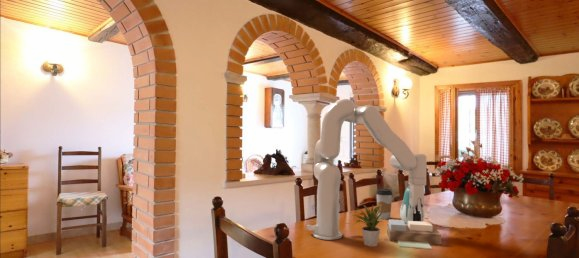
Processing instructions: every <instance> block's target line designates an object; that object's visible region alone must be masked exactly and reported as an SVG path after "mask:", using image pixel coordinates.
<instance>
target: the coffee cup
mask: <svg viewBox="0 0 579 258" xmlns="http://www.w3.org/2000/svg"><path fill="white" fill-rule="evenodd" d="M375 194H376V207H377V206H380V205H382V206H380V208H379V210H380V209H381V210H380V212H379V210H378V212H379V214H380V213H381V212H382V214H381V216H380V217H379V220H389V219H390V218H391V214H392V213H391V212H392V201H393V198H392V197H393V192H392V189H389V188H377V189H376V193H375ZM381 207H382V208H381ZM383 209H384V210H383ZM382 210H383V211H382ZM378 212H377V213H378ZM383 212H384V213H383ZM379 214H378V216H379ZM378 216H377V217H378Z"/></svg>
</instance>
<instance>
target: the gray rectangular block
mask: <svg viewBox="0 0 579 258" xmlns="http://www.w3.org/2000/svg"><path fill="white" fill-rule="evenodd" d="M388 224H389V227H390V229H391V231H406V225H407V224H406V223H404V221H403V220H402V219H388Z"/></svg>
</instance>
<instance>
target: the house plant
mask: <svg viewBox="0 0 579 258" xmlns="http://www.w3.org/2000/svg"><path fill="white" fill-rule="evenodd" d="M362 206H363V207H364V209H365V212H366V213H365V212H364V211H363V210H362V209H360V208H358V207H353V208H355V209H356V210H358V211H360V213H361V214H362V215H363V216H361V215H357V214H352V216H354V217H355V218H356V219H357V220H356V221H355V224H357V223H360V222H361V223H363V225H364V226H363V227H361V232H362V238H363V245H365V246H367V247H377V246H378V242H379V237H380V231H381V229H380V228H378V227H377V225H378V224H380V223H381V222H382V223H383V220H381V221H380V218H379V217H380V216H381V214H382V212H381V213H380V214H379V212H380V210H381V209H380V210H379V208H380V206H382V205H380V206H377V205H376V206H375V207H374V205H372V206H371V210H370V208H369V207H367V206H366V205H364V204H362ZM381 208H382V207H381ZM378 210H379V212H378ZM383 210H384V209H383ZM383 210H382V211H383ZM383 213H384V212H383ZM378 214H379V216H378Z"/></svg>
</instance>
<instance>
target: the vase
mask: <svg viewBox="0 0 579 258" xmlns="http://www.w3.org/2000/svg"><path fill="white" fill-rule="evenodd" d="M409 195H410V186H408V187H406V189H405V191H404V194H403V199H402V201H401V206H400V209H399V216H400V220H403V221H404V223H405V225H408V221H413V207H412V206H411V205H410V204H409ZM424 219H425V208H424V207H423V208H421V222H424Z"/></svg>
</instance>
